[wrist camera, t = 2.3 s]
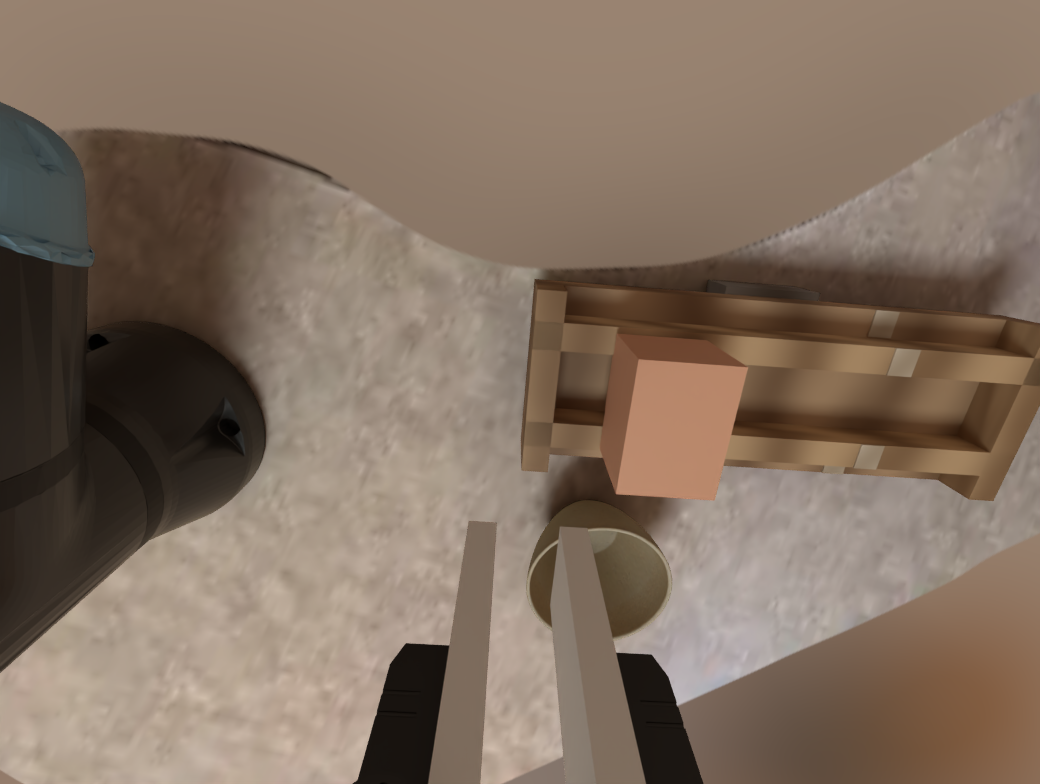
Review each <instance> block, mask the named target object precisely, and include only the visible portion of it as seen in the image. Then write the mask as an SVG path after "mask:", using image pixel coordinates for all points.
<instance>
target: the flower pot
mask: <svg viewBox="0 0 1040 784" xmlns="http://www.w3.org/2000/svg"><path fill="white" fill-rule="evenodd" d="M560 527H576V528H588V532H589V536H590V541H591V545H592V550H593V554H594V558H595V563H596V567H597V572H598V576H599V580H600V585H601V589H602V593H603V598H604V602H605V607H606V611H607V615H608V620H609V624H610V629H611V633H612V637H613V641H615V640H619V639H622V638H625V637H628V636H630V635H633V634H635V633H637V632H639V631H641V630H642V629H644V628H645V627H647V626H648V625H649V624H651V623H652V622H653V621H654V620H655V619H656V618H657V617H658V616H659V615H660V613H661V612H662V611H663V609H664V608H665V606H666V604H667V602H668V600H669V597H670V594H671V590H672V575H671V570H670V567H669V564H668V562H667V560H666V558H665V556H664V555H663V553H662V552H661V550H660V548H659V547H658V546H657V544H656V543H655V542H654V540H653V539H652V538H651V536H650V535H649V534H648V533H647V532H646V531H645V530H644V529H643V528H642V527H641V526H640V525H639V524H638V523H637V522H636V521H635V520H633V519H632V518H631V517H630V516H628V515H627V514H625V513H624V512H623V511H621V510H619V509H617V508H615V507H613V506H611V505H609V504H606V503H603V502H599V501H594V500H582V501H577V502H574V503H572V504H570V505H568V506H567V507H565V508H564V509H562V510H561V511H560V512H559V513H558V514H557V515H556V516H555V517H554V518H553V519H552V520H551V521H550V523H549V524H548V525H547V527H546V528H545V530H544V531H543V533H542V535H541V536H540V538H539V540H538V543H537V545H536V547H535V550H534V553H533V556H532V559H531V562H530V566H529V571H528V577H527V585H526V590H527V598H528V601H529V604H530V606H531V609H532V611H533V612H534V614H535V615H536V617H537V618H538V619H539V620H540V621H541V622H542V623H543V624H544V625H545V626H546V627H547V628H549V629H550V630H551V631H552V620H551V609H550V602H551V594H552V586H553V578H554V570H555V562H556V555H557V547H558V539H559V531H560Z"/></svg>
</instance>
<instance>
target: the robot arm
mask: <svg viewBox="0 0 1040 784" xmlns="http://www.w3.org/2000/svg"><path fill="white" fill-rule="evenodd" d="M94 258H95V253H94V251H93V250H92V248H91V247H90V246H89V245H88V235H87V214H86V193H85V179H84V174H83V170H82V167H81V164H80V162H79V160H78V158H77V157H76V155H75V154H74V152H73V151H72V149H71V148H70V147H69V146H68V145H67V143H66V142H65V141H64V140H63V139H62V138H61V137H59V136H58V135H57V134H56V133H55V132H54V131H53V130H51V129H50V128H49V127H47V126H46V125H44V124H43V123H41V122H40V121H38V120H36V119H34V118H33V117H31V116H29V115H27V114H25V113H23V112H21V111H19V110H17V109H15V108H13V107H11V106H8V105H6V104H3V103H1V102H0V673H1V672H2V671H3V670H4V669H5V668H6V667H7V666H9V665H10V664H11V663H12V662H13V661H14V660H15V659H16V658H18V657H19V656H20V655H21V654H22V653H23V652H24V651H25V650H26V649H28V648H29V647H30V646H31V645H32V644H33V643H34V642H35V641H37V640H38V639H39V638H40V637H41V636H42V635H43V634H44V633H46V632H47V631H48V630H49V629H50V628H51V627H52V626H53V625H54V624H56V623H57V622H58V621H59V620H60V619H61V618H62V617H63V616H65V615H66V614H67V613H68V612H69V611H70V610H71V609H72V608H74V607H75V606H76V605H77V604H78V603H79V602H80V601H81V600H82V599H84V598H85V597H86V596H87V595H88V594H89V593H90V592H91V591H93V590H94V589H95V588H96V587H97V586H98V585H99V584H100V583H101V582H103V581H104V580H105V579H106V578H107V577H108V576H109V575H110V574H112V573H113V572H114V571H115V570H116V569H117V568H118V567H119V566H121V565H122V564H123V563H124V562H125V561H126V560H127V559H128V558H129V557H130V556H132V555H133V554H134V553H135V552H136V551H137V550H138V549H139V548H140V547H142V546H143V545H144V544H145V543H146V542H148V541H149V540H151V539H153V538H155V537H158V536H160V535H162V534H165V533H167V532H169V531H172V530H174V529H176V528H179V527H181V526H183V525H186V524H188V523H190V522H193V521H195V520H197V519H200V518H202V517H204V516H207V515H209V514H211V513H213V512H215V511H216V510H218V509H219V508H221V507H222V506H224V505H225V504H227V503H228V502H229V501H230V500H231V499H232V498H233V497H234V496H235V495H236V494H237V493H238V492H239V491H240V490H241V489H242V488H243V487H244V486H245V485H246V484H247V483H248V482H249V481H250V480H251V479H252V477H253V476H254V474H255V473H256V471H257V469H258V467H259V465H260V462H261V459H262V456H263V451H264V445H265V430H264V423H263V418H262V414H261V411H260V408H259V405H258V403H257V401H256V398H255V396H254V394H253V393H252V391H251V389H250V387H249V386H248V384H247V383H246V381H245V380H244V378H243V377H242V376H241V374H240V373H239V372H238V371H237V370H236V369H235V368H234V367H233V365H232V364H231V363H230V362H229V361H227V360H226V359H225V358H224V357H223V356H222V355H221V354H219V353H218V352H217V351H216V350H214V349H213V348H211V347H210V346H209V345H207V344H205V343H204V342H202V341H201V340H199V339H197V338H195V337H193V336H191V335H189V334H187V333H185V332H182V331H180V330H177V329H174V328H171V327H168V326H164V325H160V324H154V323H147V322H121V323H115V324H110V325H106V326H103V327H99V328H95V329H92V330H88V331H87V297H88V267H89V266H93V265H92V264H93V262H94ZM496 526H497V523H494V522H478V521H469V523H468V529H467V536H466V542H465V549H464V555H463V562H462V568H461V575H460V581H459V587H458V594H457V600H456V607H455V613H454V620H453V626H452V633H451V639H450V645H449V646H447V645H428V644H409V643H406V644H405V645H404V647H403V648H402V649H401V651H400V652H399V653H398V655H397V656H396V657H395V658H394V660H393V661H392V662H391V664H390V667H389V670H388V674H387V677H386V681H385V684H384V688H383V694H382V695H381V699H380V702H379V706H378V709H377V715H376V716H375V720H374V724H373V727H372V731H371V734H370V738H369V741H368V745H367V749H366V752H365V756H364V759H363V763H362V766H361V770H360V773H359V777H358V780H357V781H356V782H354V783H353V784H480V779H481V763H482V747H483V731H484V715H485V700H486V684H487V668H488V652H489V637H490V621H491V605H492V589H493V574H494V558H495V542H496ZM550 609H551V620H552V632H553V643H554V655H555V666H556V678H557V689H558V700H559V712H560V723H561V735H562V746H563V758H564V768H565V781H566V784H703V781H702V778H701V775H700V772H699V769H698V766H697V763H696V760H695V757H694V754H693V751H692V748H691V745H690V742H689V739H688V736H687V733H686V730H685V729H684V727H683V721H682V717H681V714H680V712H679V708H678V707H677V705H676V699H675V696H674V693H673V690H672V687H671V684H670V681H669V678H668V676H667V675H666V673H665V672H664V671H663V669H662V668H661V667H660V665H659V664H658V663H657V661H656V660H655V659H654V657H653V656H652V655H648V654H629V653H616V650H615V646H614V642H613V637H612V633H611V629H610V624H609V620H608V615H607V611H606V607H605V602H604V598H603V593H602V589H601V585H600V580H599V576H598V572H597V567H596V563H595V558H594V554H593V550H592V545H591V541H590V536H589V532H588V528H576V527H560V531H559V539H558V547H557V555H556V562H555V570H554V578H553V586H552V594H551V602H550Z"/></svg>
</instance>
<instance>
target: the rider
mask: <svg viewBox="0 0 1040 784" xmlns="http://www.w3.org/2000/svg"><path fill="white" fill-rule="evenodd" d="M747 370H748V367H747V366H745V365H744V364H742V363H741V362H739V361H738V360H736V359H735V358H733V357H732V356H730V355H729V354H727V353H726V352H724V351H723V350H721V349H719V348H718V347H716V346H715V345H713V344H712V343H710V342H709V341H707V340H697V339H683V338H670V337H657V336H643V335H630V334H617V335H616V342H615V348H614V355H613V356H612V362H611V369H610V376H609V383H608V389H607V396H606V403H605V415H604V422H603V428H602V435H601V442H600V451H601V454H602V457H603V460H604V462H605V465H606V468H607V471H608V474H609V476H610V479H611V482H612V485H613V488H614V490H615V493H616V494H621V495H637V496H653V497H669V498H684V499H700V500H715V497H716V493H717V489H718V485H719V481H720V477H721V473H722V469H723V465H724V461H725V457H726V453H727V449H728V445H729V441H730V438H731V434H732V430H733V426H734V422H735V418H736V414H737V410H738V406H739V402H740V398H741V394H742V390H743V386H744V382H745V378H746V374H747Z"/></svg>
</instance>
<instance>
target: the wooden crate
mask: <svg viewBox="0 0 1040 784" xmlns="http://www.w3.org/2000/svg"><path fill="white" fill-rule="evenodd" d="M819 296H820V293H817V292H814V291H810V290H806V289H802V288H798V287H793V286H781V285H768V284H755V283H743V282H730V281H717V280H708V285H707V290H706V292H694V291H681V290H668V289H655V288H642V287H630V286H617V285H604V284H591V283H578V282H566V281H553V280H540V279H535V281H534V293H533V304H532V316H531V328H530V339H529V351H528V362H527V374H526V386H525V397H524V409H523V421H522V432H521V468H522V471H537V472H548V463H549V454H554V455H569V456H584V457H600V458H603V457H602V454H601V451H600V442H601V435H602V428H603V422H604V415H605V403H606V396H607V389H608V383H609V376H610V369H611V362H612V356H613V355H614V348H615V342H616V335H617V334H630V335H643V336H657V337H670V338H683V339H697V340H707V341H709V342H710V343H712V344H713V345H715V346H716V347H718V348H719V349H721V350H723V351H724V352H726V353H727V354H729V355H730V356H732V357H733V358H735V359H736V360H738V361H739V362H741V363H742V364H744V365H745V366H747V367H748V370H747V374H746V378H745V382H744V386H743V390H742V394H741V398H740V402H739V406H738V410H737V414H736V418H735V422H734V426H733V430H732V434H731V438H730V441H729V445H728V449H727V453H726V457H725V461H724V465H723V466H737V467H752V468H767V469H782V470H797V471H813V472H822V473H830V474H858V475H873V476H889V477H904V478H919V479H934V480H939V481H940V482H942V483H944V484H945V485H947V486H948V487H950V488H952V489H953V490H955V491H956V492H958V493H960V494H961V495H963V496H964V497H966V498H968V499H971V500H987V501H993V500H994V498H995V496H996V494H997V492H998V490H999V488H1000V486H1001V484H1002V482H1003V480H1004V478H1005V476H1006V474H1007V472H1008V470H1009V467H1010V465H1011V463H1012V461H1013V459H1014V457H1015V455H1016V453H1017V451H1018V449H1019V447H1020V445H1021V443H1022V441H1023V439H1024V437H1025V435H1026V433H1027V430H1028V428H1029V426H1030V424H1031V422H1032V420H1033V418H1034V416H1035V414H1036V412H1037V410H1038V408H1039V406H1040V323H1035V322H1030V321H1025V320H1020V319H1016V318H1011V317H1006V316H1001V315H989V314H976V313H963V312H950V311H937V310H925V309H912V308H899V307H886V306H873V305H860V304H848V303H835V302H822V301H818V300H819Z"/></svg>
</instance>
